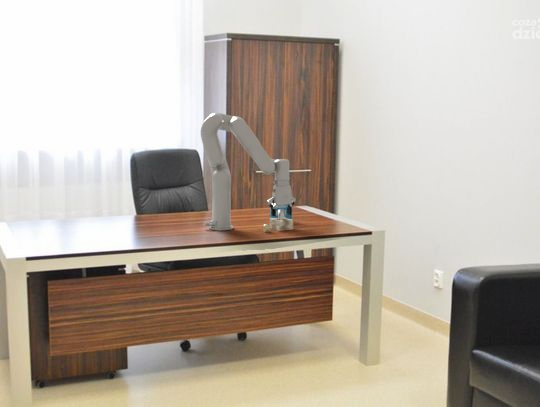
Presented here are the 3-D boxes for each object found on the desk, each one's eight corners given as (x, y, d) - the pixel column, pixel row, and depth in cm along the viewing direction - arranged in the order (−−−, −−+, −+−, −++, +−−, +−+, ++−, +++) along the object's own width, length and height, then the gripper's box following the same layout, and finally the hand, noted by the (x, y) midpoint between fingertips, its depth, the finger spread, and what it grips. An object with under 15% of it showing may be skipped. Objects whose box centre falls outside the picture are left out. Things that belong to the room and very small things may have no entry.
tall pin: (280, 229, 376) (280, 210, 375) (276, 228, 379) (277, 209, 377) (285, 228, 378) (285, 210, 376) (281, 227, 381) (282, 209, 379)
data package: (274, 224, 391) (274, 202, 389) (269, 223, 394) (270, 201, 393) (292, 222, 398) (292, 200, 396) (287, 220, 401) (287, 199, 400)
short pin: (265, 232, 367) (265, 225, 366) (262, 231, 370) (262, 224, 369) (270, 232, 369) (270, 224, 368) (267, 231, 371) (267, 223, 371)
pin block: (278, 230, 372) (278, 221, 372) (269, 228, 380) (269, 218, 379) (293, 229, 377) (293, 219, 376) (283, 226, 385) (283, 217, 384)
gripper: (271, 184, 367) (271, 217, 370) (299, 182, 376) (299, 215, 379) (263, 183, 373) (263, 215, 376) (291, 181, 382) (291, 212, 385)
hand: (281, 215), depth 377 cm, fingers open, 9 cm apart
